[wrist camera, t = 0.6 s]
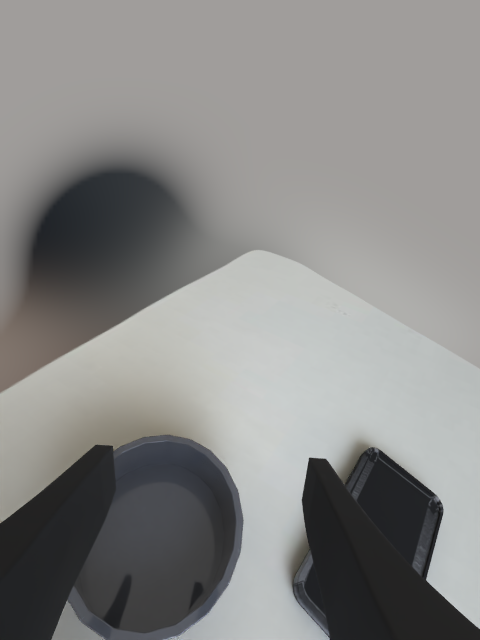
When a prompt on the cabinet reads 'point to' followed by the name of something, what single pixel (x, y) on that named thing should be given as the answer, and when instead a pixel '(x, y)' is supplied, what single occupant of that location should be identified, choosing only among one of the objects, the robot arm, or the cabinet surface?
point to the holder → (161, 542)
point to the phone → (382, 521)
